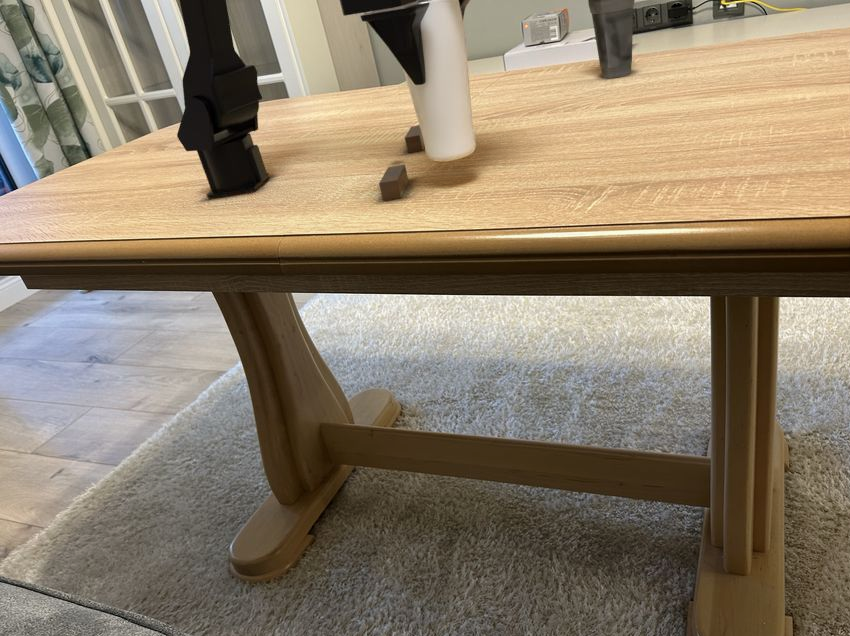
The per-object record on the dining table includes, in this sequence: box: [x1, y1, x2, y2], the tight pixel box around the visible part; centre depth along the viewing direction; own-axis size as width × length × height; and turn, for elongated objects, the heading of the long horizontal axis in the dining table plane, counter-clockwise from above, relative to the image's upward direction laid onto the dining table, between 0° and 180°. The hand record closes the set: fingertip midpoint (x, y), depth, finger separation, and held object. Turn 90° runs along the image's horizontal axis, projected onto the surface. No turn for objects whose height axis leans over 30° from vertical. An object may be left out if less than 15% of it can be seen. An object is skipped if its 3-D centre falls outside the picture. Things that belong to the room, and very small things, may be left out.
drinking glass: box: [402, 0, 477, 162], centre depth 71 cm, size 7×7×15 cm
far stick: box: [404, 124, 425, 154], centre depth 94 cm, size 6×2×2 cm, turn 176°
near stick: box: [378, 163, 410, 201], centre depth 78 cm, size 6×2×2 cm, turn 176°
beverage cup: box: [587, 0, 635, 79], centre depth 107 cm, size 7×7×20 cm
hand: (437, 76), depth 71 cm, fingers closed on drinking glass, 6 cm apart
